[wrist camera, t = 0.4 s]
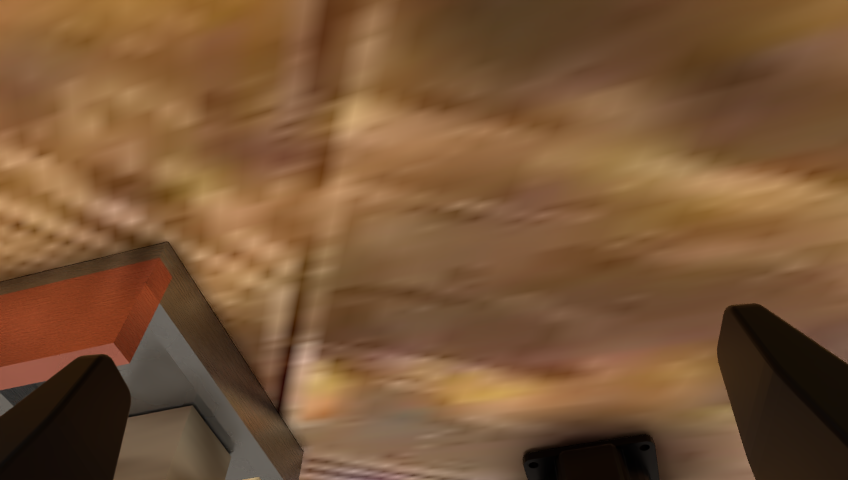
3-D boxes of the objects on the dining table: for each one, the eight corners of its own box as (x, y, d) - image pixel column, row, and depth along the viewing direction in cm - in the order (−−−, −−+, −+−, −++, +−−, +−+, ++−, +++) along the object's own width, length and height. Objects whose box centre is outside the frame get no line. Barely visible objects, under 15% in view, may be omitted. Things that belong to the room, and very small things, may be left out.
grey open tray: (303, 452, 34) (284, 558, 29) (131, 482, 36) (88, 586, 31) (168, 241, 26) (113, 342, 21) (-46, 293, 28) (-138, 396, 23)
